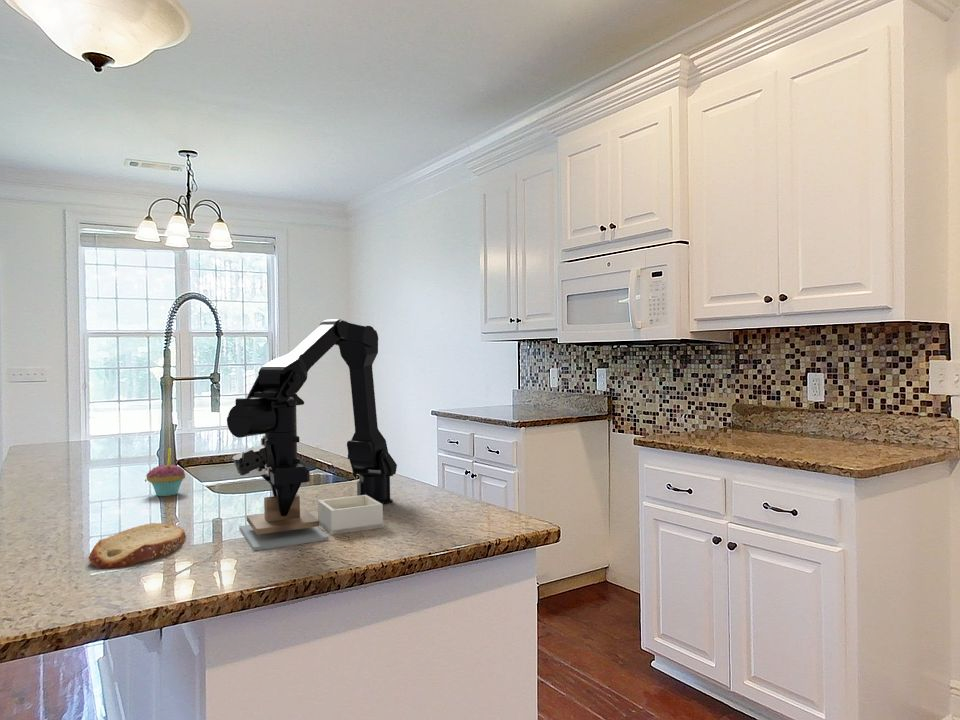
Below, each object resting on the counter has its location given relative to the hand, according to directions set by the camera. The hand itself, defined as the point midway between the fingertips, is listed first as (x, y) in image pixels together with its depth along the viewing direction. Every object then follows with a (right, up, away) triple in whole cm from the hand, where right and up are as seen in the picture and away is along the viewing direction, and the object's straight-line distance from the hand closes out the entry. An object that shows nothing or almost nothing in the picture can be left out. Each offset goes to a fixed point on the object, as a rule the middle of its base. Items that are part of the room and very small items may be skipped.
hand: (282, 514), depth 126 cm
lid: (0, -2, 0) cm, 2 cm away
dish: (+11, -4, +6) cm, 13 cm away
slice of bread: (-23, -5, -8) cm, 25 cm away
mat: (0, -4, 0) cm, 4 cm away
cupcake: (-39, -4, +37) cm, 54 cm away
